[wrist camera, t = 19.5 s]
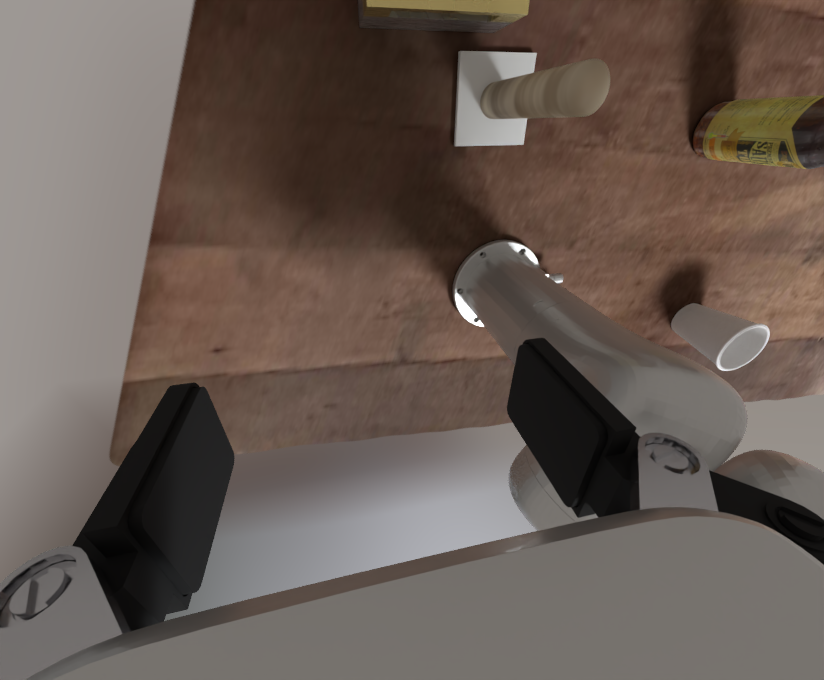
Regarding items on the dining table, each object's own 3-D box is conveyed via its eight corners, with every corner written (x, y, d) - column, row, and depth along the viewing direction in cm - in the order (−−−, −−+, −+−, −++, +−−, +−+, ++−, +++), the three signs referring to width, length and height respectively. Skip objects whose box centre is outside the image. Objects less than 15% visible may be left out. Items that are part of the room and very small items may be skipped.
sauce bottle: (679, 148, 43) (896, 162, 27) (714, 91, 40) (980, 68, 24) (711, 166, 45) (929, 189, 29) (746, 113, 43) (1010, 106, 26)
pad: (533, 54, 35) (536, 53, 34) (520, 144, 39) (523, 144, 39) (458, 52, 33) (460, 50, 33) (453, 145, 38) (455, 146, 37)
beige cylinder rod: (511, 81, 35) (616, 58, 23) (506, 118, 37) (602, 116, 24) (481, 81, 34) (573, 58, 22) (479, 119, 36) (562, 117, 24)
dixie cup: (655, 327, 59) (708, 360, 51) (694, 288, 56) (758, 316, 48) (678, 344, 63) (731, 378, 55) (716, 308, 60) (779, 337, 52)
